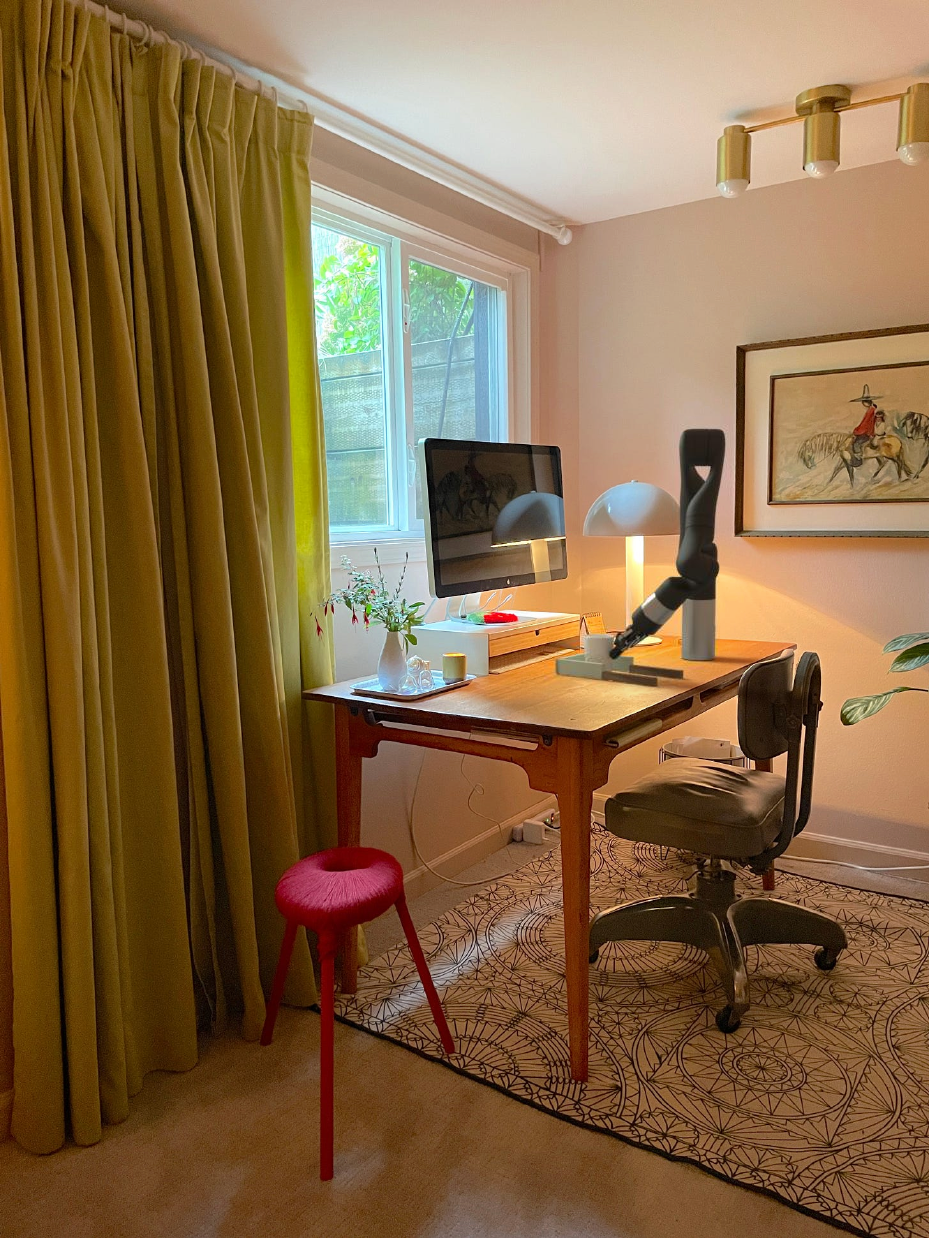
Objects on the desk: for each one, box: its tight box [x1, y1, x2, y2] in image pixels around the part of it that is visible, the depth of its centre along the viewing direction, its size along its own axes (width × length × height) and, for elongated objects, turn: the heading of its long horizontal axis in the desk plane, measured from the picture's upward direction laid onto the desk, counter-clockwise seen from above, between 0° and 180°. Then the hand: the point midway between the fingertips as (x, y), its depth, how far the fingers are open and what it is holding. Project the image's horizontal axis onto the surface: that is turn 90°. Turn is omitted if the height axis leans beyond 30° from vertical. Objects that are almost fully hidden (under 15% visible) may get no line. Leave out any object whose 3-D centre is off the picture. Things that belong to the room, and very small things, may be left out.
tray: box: [555, 652, 635, 681], centre depth 248 cm, size 15×14×4 cm
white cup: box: [583, 633, 615, 672], centre depth 247 cm, size 8×8×10 cm
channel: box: [601, 664, 684, 687], centre depth 239 cm, size 15×15×2 cm
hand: (612, 656), depth 244 cm, fingers closed
